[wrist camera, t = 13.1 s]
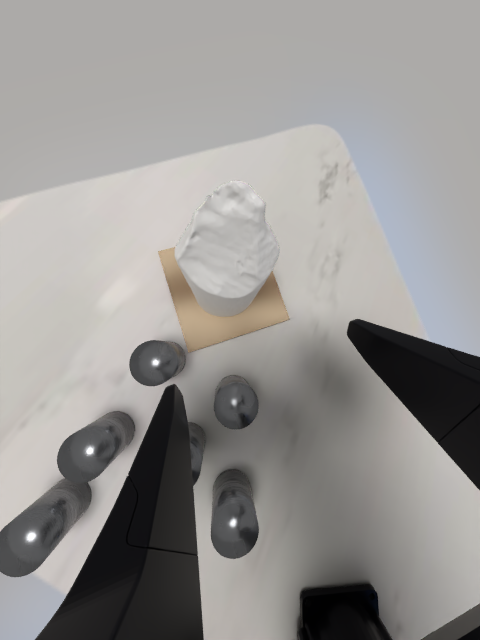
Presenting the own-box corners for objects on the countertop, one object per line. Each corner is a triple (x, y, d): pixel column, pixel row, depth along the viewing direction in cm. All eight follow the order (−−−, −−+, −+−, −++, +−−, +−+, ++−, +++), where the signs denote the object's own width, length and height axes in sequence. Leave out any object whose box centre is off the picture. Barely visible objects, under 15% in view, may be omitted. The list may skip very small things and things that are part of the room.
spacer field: (250, 342, 19) (258, 341, 15) (250, 509, 18) (258, 556, 14) (67, 340, 18) (24, 338, 14) (45, 522, 16) (-12, 579, 12)
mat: (288, 319, 20) (289, 319, 20) (189, 352, 19) (188, 352, 18) (255, 227, 21) (256, 226, 21) (159, 253, 20) (158, 251, 19)
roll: (170, 286, 7) (134, 145, 8) (202, 324, 19) (187, 268, 19) (327, 248, 8) (283, 122, 8) (263, 307, 20) (247, 254, 20)
